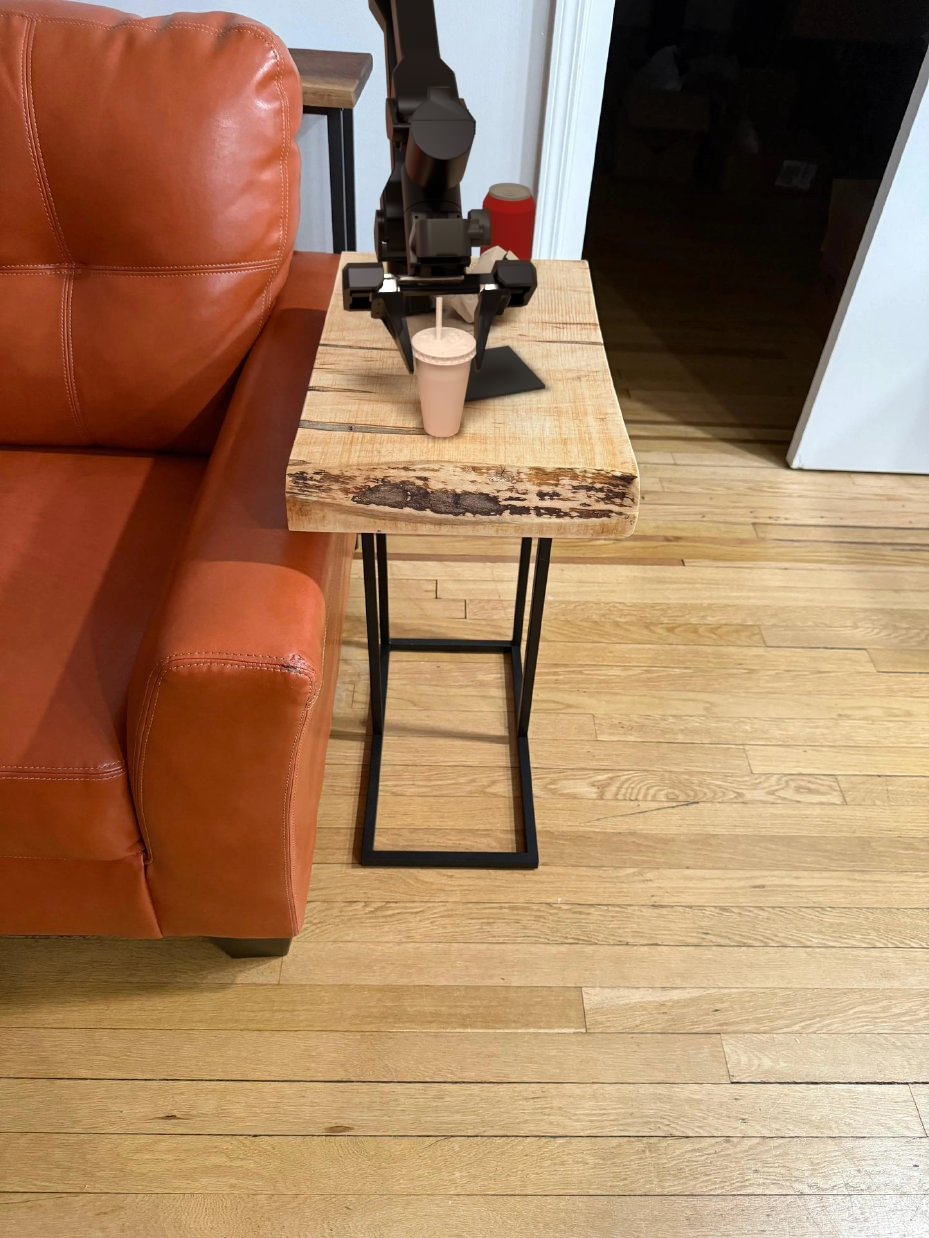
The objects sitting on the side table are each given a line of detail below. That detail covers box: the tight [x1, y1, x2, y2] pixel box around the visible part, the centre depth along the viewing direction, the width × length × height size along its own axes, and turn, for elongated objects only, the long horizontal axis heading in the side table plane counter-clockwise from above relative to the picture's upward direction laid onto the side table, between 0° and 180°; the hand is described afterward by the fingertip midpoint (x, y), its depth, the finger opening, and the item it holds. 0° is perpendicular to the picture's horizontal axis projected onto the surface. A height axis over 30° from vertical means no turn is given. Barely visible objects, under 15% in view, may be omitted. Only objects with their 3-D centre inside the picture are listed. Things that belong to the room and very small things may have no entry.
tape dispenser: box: [449, 246, 519, 324], centre depth 112 cm, size 6×7×10 cm
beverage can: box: [479, 182, 537, 262], centre depth 119 cm, size 7×7×12 cm
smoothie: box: [411, 296, 476, 438], centre depth 91 cm, size 6×6×14 cm
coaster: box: [464, 345, 546, 403], centre depth 104 cm, size 10×10×1 cm
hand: (444, 372), depth 90 cm, fingers closed on smoothie, 6 cm apart
